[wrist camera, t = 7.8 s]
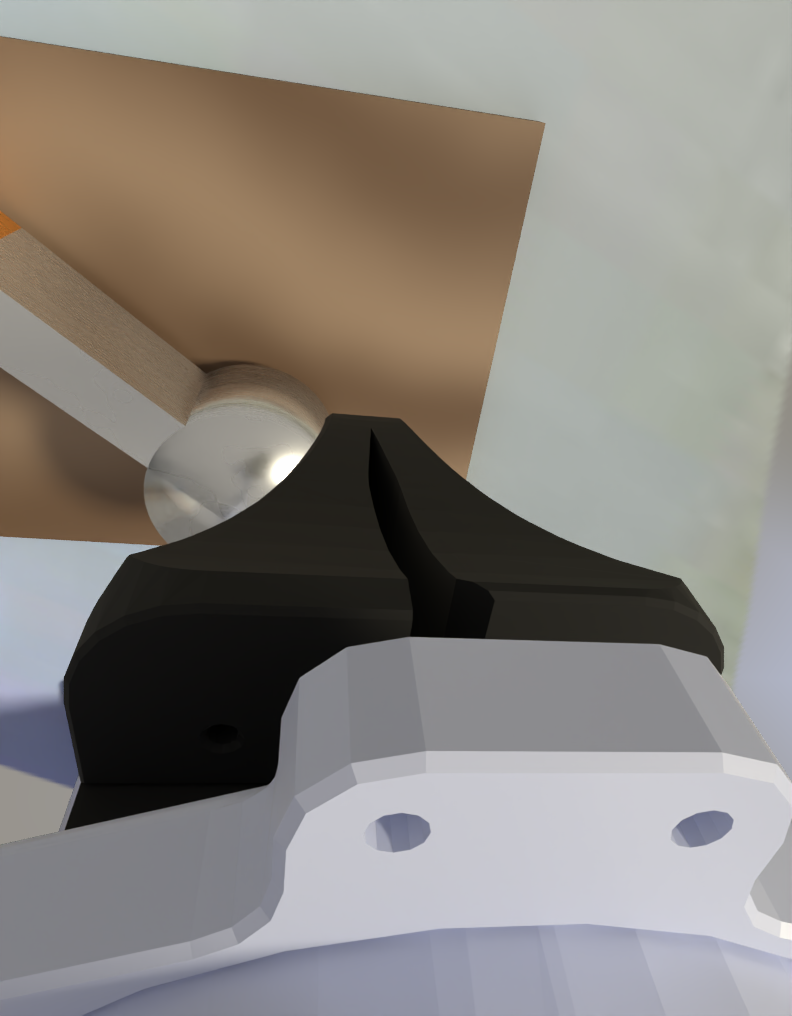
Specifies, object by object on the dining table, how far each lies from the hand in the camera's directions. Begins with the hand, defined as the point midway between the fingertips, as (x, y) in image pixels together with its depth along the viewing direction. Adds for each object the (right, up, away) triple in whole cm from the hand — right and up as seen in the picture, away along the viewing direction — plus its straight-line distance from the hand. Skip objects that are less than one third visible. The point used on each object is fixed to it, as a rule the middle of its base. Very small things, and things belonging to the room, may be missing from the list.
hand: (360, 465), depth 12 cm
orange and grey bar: (-6, +3, +7) cm, 10 cm away
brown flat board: (-5, +4, +8) cm, 10 cm away
